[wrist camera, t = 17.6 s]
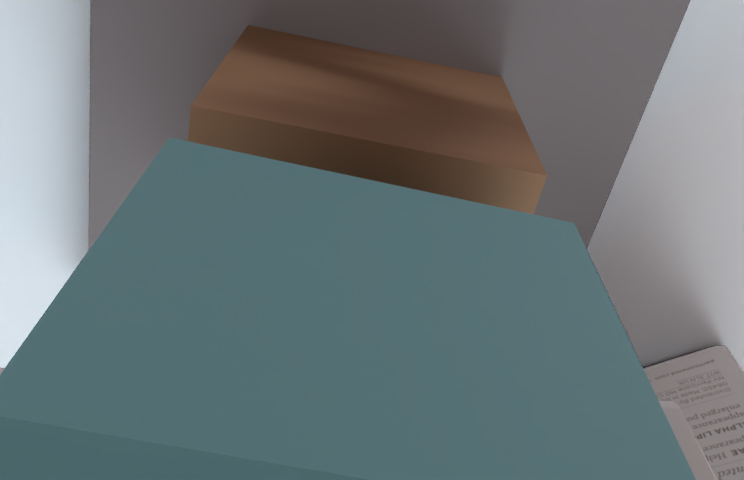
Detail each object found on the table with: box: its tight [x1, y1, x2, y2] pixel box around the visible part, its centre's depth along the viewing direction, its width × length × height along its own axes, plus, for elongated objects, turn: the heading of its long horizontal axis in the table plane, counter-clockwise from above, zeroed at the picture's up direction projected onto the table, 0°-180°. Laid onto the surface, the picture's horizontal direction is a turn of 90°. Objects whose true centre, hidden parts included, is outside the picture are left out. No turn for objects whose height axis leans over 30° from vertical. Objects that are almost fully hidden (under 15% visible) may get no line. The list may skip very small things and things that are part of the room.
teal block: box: [0, 137, 696, 480], centre depth 9 cm, size 6×6×5 cm
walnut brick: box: [188, 25, 547, 214], centre depth 14 cm, size 6×6×5 cm
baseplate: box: [89, 0, 690, 250], centre depth 17 cm, size 12×12×1 cm
